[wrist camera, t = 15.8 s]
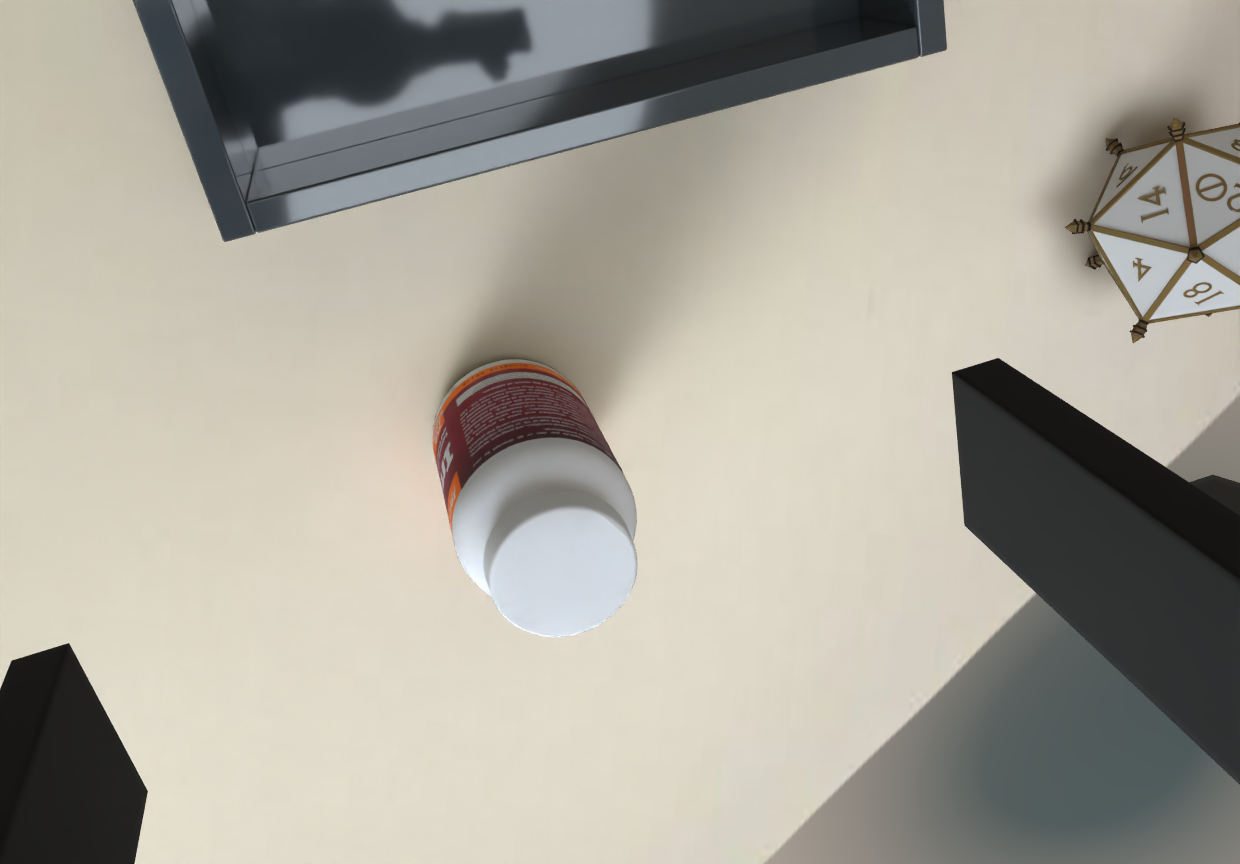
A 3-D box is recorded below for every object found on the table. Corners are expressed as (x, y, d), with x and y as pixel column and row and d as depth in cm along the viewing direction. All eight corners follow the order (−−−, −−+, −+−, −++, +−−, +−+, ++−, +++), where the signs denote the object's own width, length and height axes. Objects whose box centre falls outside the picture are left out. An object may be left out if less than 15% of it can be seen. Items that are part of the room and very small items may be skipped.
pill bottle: (401, 399, 43) (426, 541, 34) (547, 326, 44) (615, 447, 34) (473, 525, 46) (516, 689, 37) (611, 456, 47) (689, 601, 37)
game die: (1035, 202, 51) (1008, 262, 42) (1190, 42, 46) (1194, 74, 38) (1192, 336, 50) (1195, 423, 42) (1365, 188, 46) (1408, 253, 37)
